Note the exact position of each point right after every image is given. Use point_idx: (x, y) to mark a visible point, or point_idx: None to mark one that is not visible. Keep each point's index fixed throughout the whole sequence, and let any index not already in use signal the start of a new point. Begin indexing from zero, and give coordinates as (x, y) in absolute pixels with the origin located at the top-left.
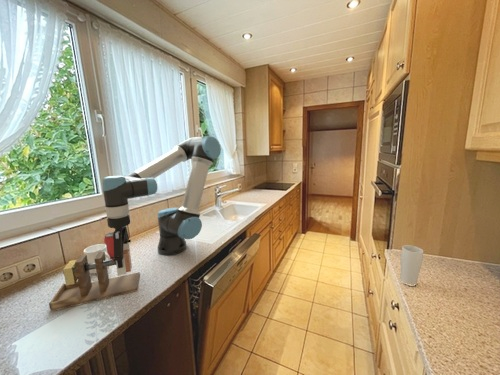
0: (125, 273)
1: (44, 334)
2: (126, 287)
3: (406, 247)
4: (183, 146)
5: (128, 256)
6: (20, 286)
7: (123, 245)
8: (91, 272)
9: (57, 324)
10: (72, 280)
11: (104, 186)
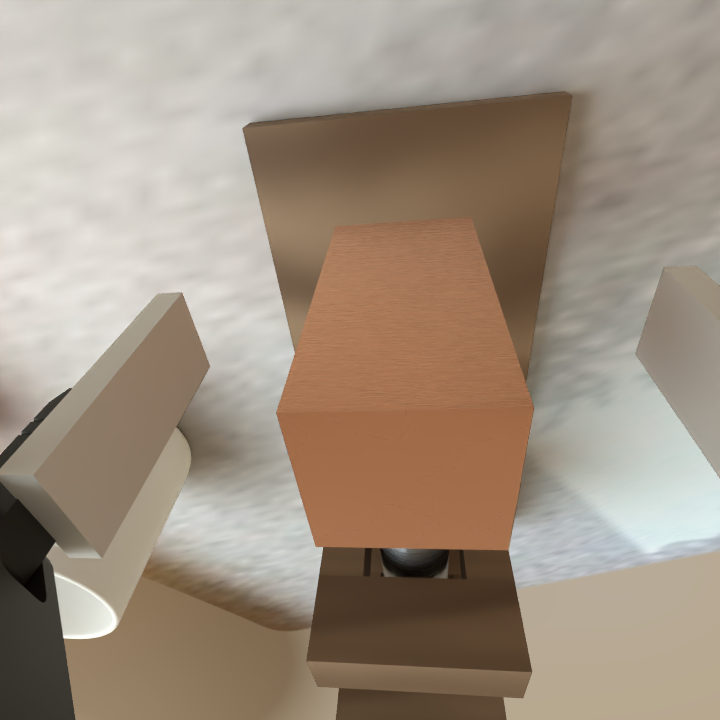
0: (701, 275)
1: (677, 495)
2: (497, 211)
3: None
4: None
5: (513, 357)
6: (253, 617)
7: (99, 521)
8: (189, 467)
9: (635, 476)
10: None
11: None
